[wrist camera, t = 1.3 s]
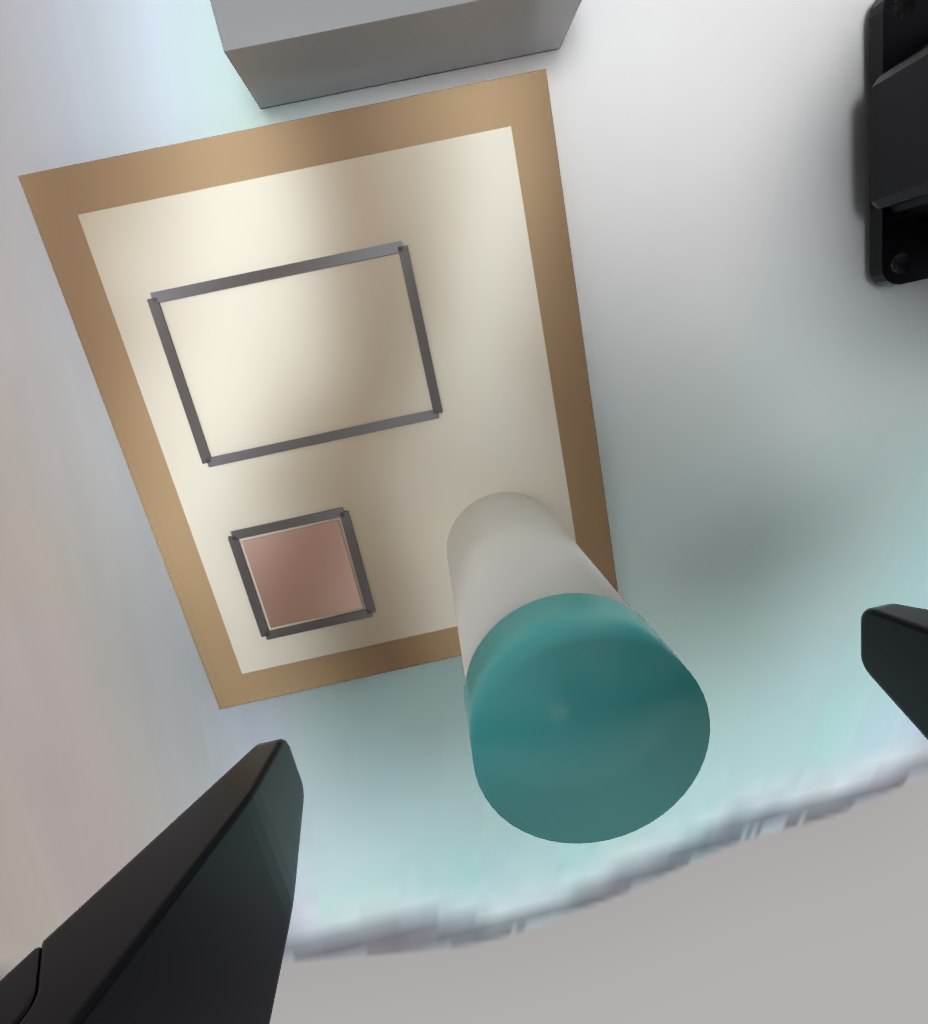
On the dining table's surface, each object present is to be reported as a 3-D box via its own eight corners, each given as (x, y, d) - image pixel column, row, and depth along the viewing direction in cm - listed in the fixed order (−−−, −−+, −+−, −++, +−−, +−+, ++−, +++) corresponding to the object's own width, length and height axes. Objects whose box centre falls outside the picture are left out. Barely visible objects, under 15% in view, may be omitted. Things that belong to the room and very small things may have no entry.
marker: (553, 478, 15) (699, 612, 7) (571, 589, 16) (718, 814, 8) (433, 504, 15) (449, 668, 7) (458, 614, 16) (497, 865, 8)
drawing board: (542, 77, 13) (547, 65, 13) (616, 613, 17) (623, 621, 16) (29, 181, 13) (13, 173, 12) (224, 700, 17) (217, 712, 16)
